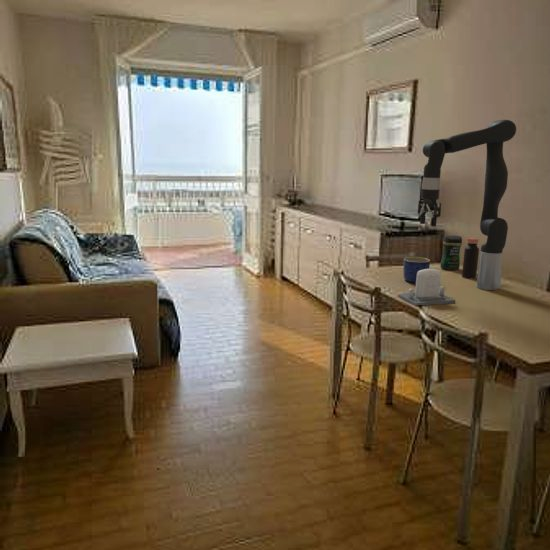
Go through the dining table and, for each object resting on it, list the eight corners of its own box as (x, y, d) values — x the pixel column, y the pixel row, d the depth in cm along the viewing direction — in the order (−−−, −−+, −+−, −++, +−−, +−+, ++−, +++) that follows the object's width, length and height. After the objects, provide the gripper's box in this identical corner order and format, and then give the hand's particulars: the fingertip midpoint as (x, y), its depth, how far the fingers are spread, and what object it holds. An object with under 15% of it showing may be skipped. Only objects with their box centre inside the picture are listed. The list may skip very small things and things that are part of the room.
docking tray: (436, 293, 215) (436, 282, 214) (455, 302, 202) (456, 290, 201) (398, 296, 210) (398, 285, 209) (415, 306, 197) (416, 293, 196)
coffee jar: (444, 270, 260) (447, 236, 256) (438, 267, 268) (441, 234, 263) (461, 270, 261) (464, 236, 256) (455, 267, 268) (458, 234, 264)
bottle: (459, 277, 246) (463, 238, 241) (464, 275, 251) (468, 237, 246) (473, 279, 241) (477, 240, 236) (478, 277, 246) (482, 238, 241)
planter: (433, 283, 233) (435, 261, 231) (410, 284, 231) (412, 262, 228) (419, 277, 245) (421, 256, 243) (397, 278, 242) (399, 257, 240)
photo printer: (435, 295, 209) (437, 267, 206) (440, 297, 205) (442, 269, 202) (413, 296, 207) (415, 268, 204) (417, 298, 203) (419, 270, 200)
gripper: (448, 189, 205) (444, 227, 208) (429, 187, 218) (426, 222, 222) (432, 189, 203) (429, 227, 207) (414, 187, 216) (411, 223, 220)
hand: (427, 225), depth 214 cm, fingers open, 8 cm apart
